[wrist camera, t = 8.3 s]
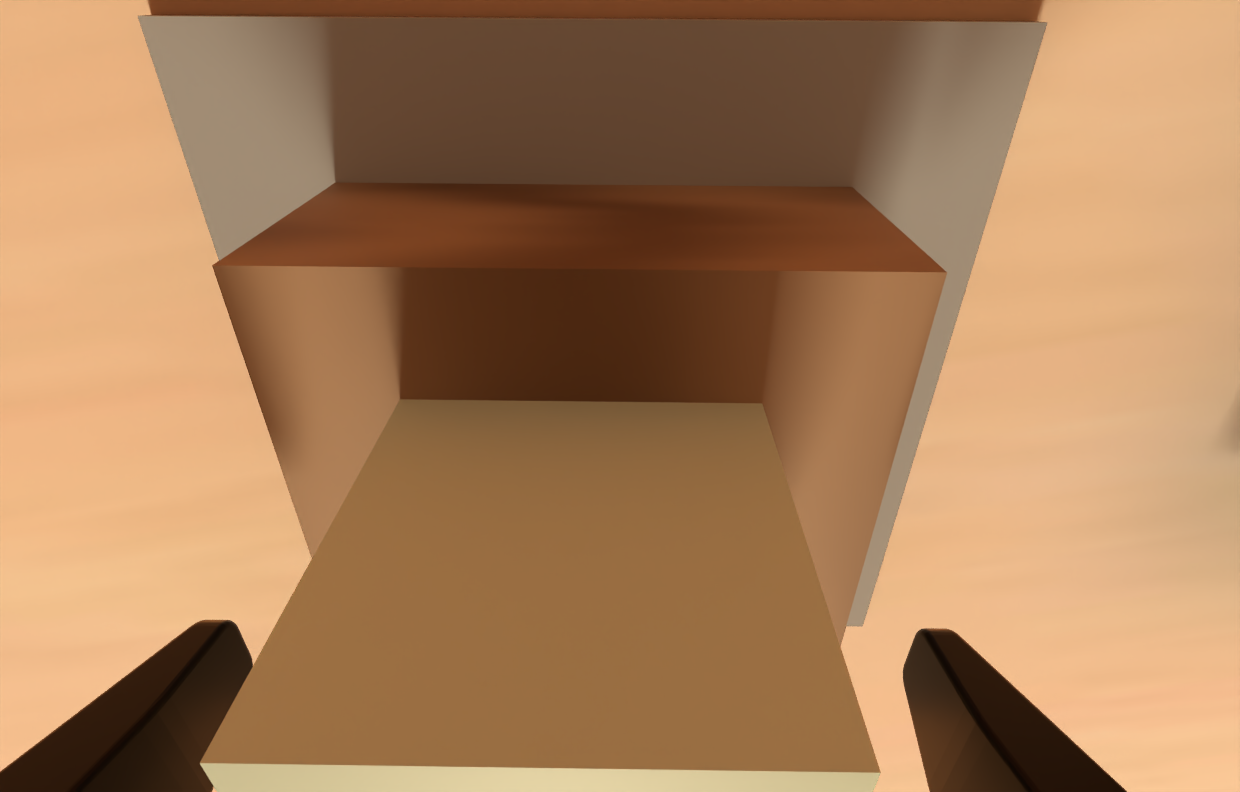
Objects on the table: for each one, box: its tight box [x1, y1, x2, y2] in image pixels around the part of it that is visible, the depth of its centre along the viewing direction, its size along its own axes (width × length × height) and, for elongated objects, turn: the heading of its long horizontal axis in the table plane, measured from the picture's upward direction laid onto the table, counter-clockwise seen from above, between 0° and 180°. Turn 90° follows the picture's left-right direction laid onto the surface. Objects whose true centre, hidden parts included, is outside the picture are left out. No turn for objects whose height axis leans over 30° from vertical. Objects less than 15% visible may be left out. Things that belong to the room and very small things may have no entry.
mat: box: [138, 15, 1047, 626], centre depth 14 cm, size 14×14×1 cm
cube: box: [200, 399, 881, 792], centre depth 8 cm, size 5×5×5 cm
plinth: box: [212, 182, 947, 646], centre depth 12 cm, size 9×9×4 cm
